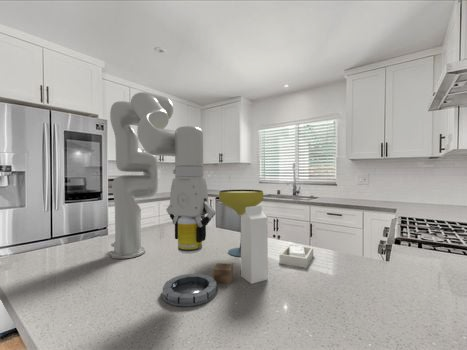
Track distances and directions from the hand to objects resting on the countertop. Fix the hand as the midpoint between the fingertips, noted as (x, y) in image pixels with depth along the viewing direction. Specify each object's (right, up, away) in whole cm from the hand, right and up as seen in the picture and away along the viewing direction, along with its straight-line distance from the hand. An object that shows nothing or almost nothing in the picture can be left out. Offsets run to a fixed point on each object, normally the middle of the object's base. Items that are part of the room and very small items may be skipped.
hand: (190, 238), depth 65 cm
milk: (+18, -15, +9) cm, 25 cm away
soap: (+35, -14, +25) cm, 46 cm away
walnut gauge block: (+9, -15, +8) cm, 19 cm away
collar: (0, -14, 0) cm, 14 cm away
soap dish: (+35, -14, +24) cm, 45 cm away
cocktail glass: (+15, -14, +33) cm, 39 cm away
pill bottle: (0, -3, 0) cm, 3 cm away
